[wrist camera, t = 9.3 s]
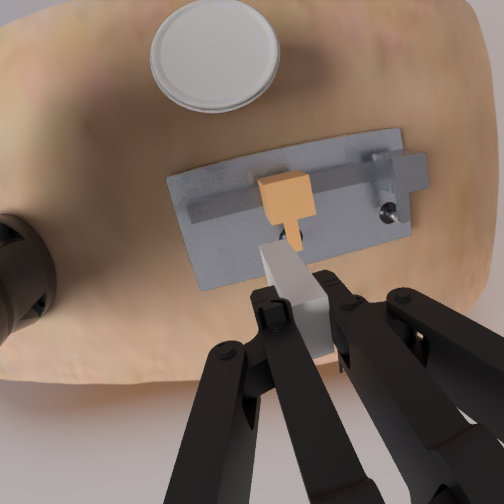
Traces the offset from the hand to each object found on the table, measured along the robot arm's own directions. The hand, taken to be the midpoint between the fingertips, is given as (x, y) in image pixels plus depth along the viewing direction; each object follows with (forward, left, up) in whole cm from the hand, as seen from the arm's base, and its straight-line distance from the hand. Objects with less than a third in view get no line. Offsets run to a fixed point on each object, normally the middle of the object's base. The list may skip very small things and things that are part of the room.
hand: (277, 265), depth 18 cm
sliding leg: (+3, -1, -16) cm, 16 cm away
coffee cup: (0, +14, -19) cm, 23 cm away
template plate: (+5, -2, -18) cm, 19 cm away
